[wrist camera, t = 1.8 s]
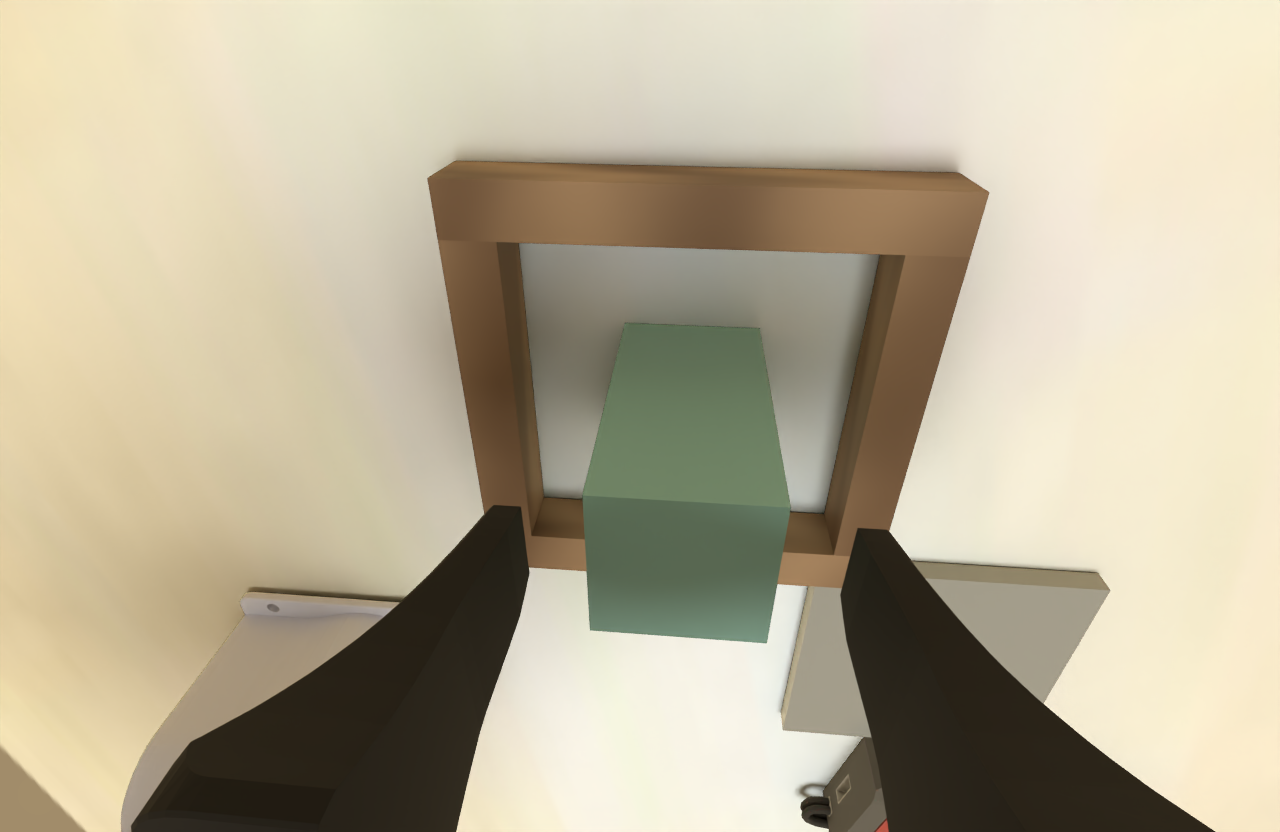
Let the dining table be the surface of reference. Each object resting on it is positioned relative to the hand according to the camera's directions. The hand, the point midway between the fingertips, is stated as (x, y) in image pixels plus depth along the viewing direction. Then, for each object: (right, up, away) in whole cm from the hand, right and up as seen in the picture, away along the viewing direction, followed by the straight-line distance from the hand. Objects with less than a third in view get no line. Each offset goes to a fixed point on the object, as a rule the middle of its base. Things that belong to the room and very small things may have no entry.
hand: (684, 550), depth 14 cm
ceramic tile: (+10, -7, +12) cm, 17 cm away
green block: (+1, +4, +6) cm, 7 cm away
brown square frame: (+1, +4, +6) cm, 7 cm away
